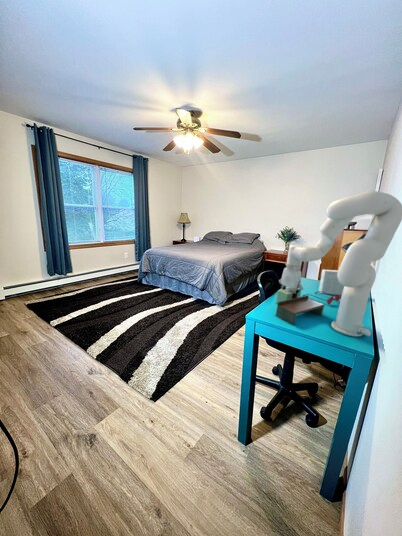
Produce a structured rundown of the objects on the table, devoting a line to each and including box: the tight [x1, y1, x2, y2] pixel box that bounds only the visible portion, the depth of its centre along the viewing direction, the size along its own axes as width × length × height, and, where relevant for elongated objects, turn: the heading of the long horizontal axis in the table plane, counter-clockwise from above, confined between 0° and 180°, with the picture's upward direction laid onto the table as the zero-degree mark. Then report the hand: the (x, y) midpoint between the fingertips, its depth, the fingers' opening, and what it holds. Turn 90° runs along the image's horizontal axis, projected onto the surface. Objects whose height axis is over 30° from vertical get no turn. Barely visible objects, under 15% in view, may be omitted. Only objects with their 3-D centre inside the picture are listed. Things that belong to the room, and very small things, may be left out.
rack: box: [275, 294, 325, 325], centre depth 111 cm, size 10×24×8 cm, turn 120°
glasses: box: [302, 290, 341, 305], centre depth 136 cm, size 14×16×5 cm
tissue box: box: [275, 287, 302, 305], centre depth 125 cm, size 6×12×9 cm, turn 120°
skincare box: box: [318, 269, 344, 296], centre depth 146 cm, size 21×5×16 cm, turn 84°
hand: (288, 296), depth 125 cm, fingers closed on tissue box, 6 cm apart
